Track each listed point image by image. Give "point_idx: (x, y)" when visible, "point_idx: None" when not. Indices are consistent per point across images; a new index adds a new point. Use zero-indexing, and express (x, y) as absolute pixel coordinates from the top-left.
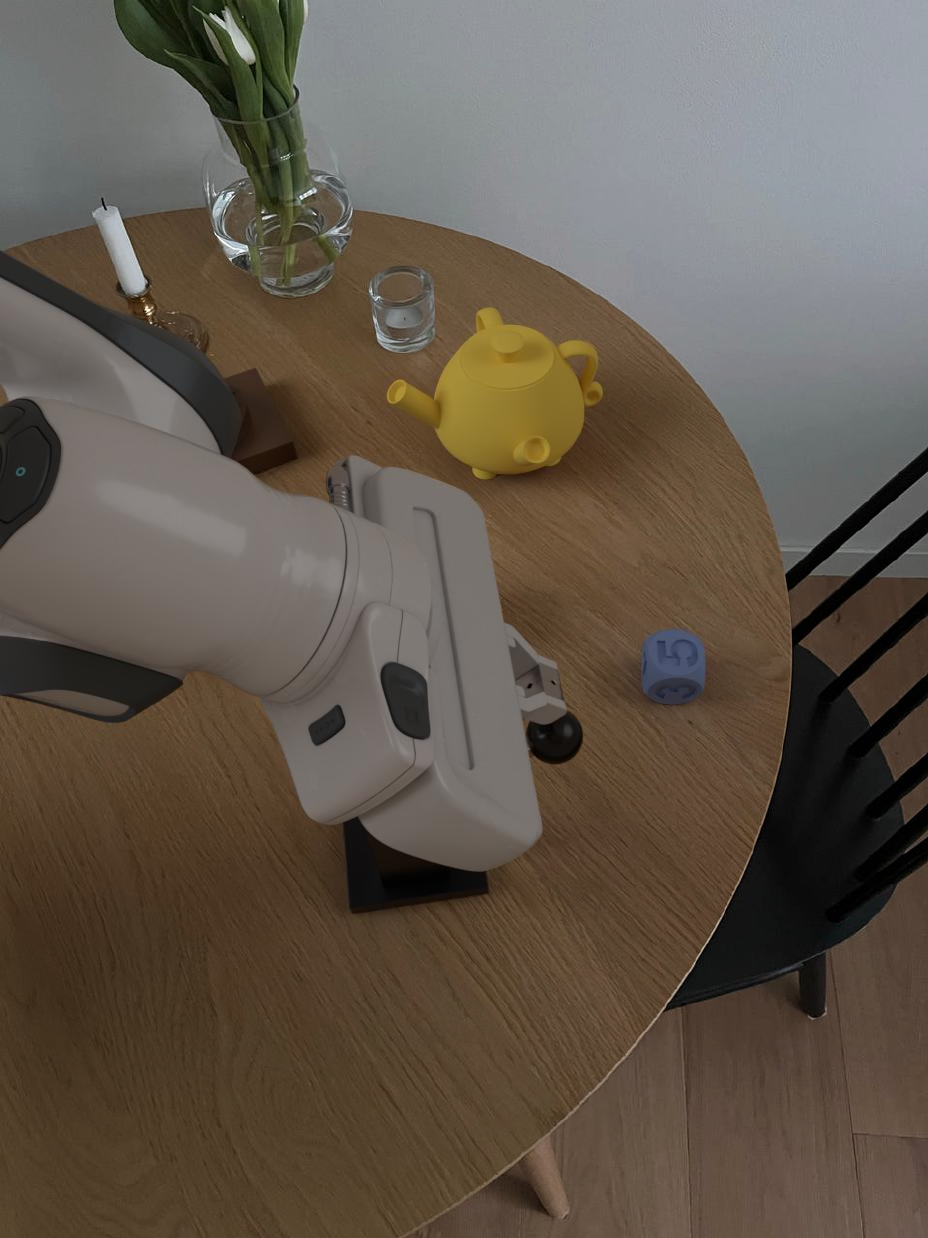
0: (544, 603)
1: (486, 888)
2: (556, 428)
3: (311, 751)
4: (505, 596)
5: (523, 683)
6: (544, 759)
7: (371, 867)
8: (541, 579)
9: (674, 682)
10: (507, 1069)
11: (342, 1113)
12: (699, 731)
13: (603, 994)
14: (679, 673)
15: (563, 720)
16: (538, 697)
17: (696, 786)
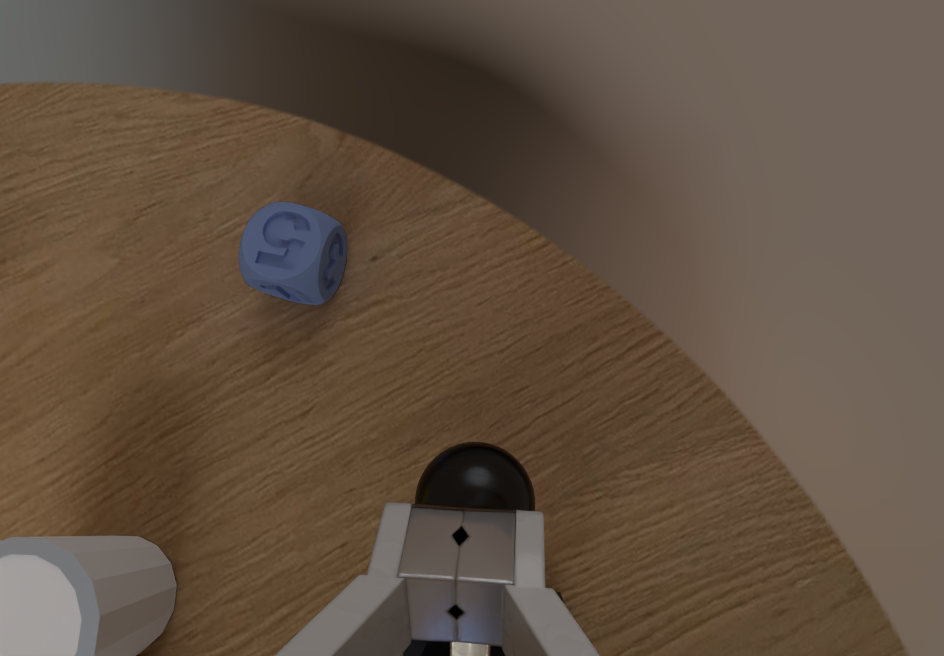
0: (134, 405)
1: (561, 600)
2: None
3: None
4: (103, 460)
5: (435, 623)
6: None
7: None
8: (92, 399)
9: (325, 258)
10: (797, 620)
11: None
12: (389, 250)
13: (716, 468)
14: (316, 246)
15: (469, 486)
16: (543, 623)
17: (464, 276)
